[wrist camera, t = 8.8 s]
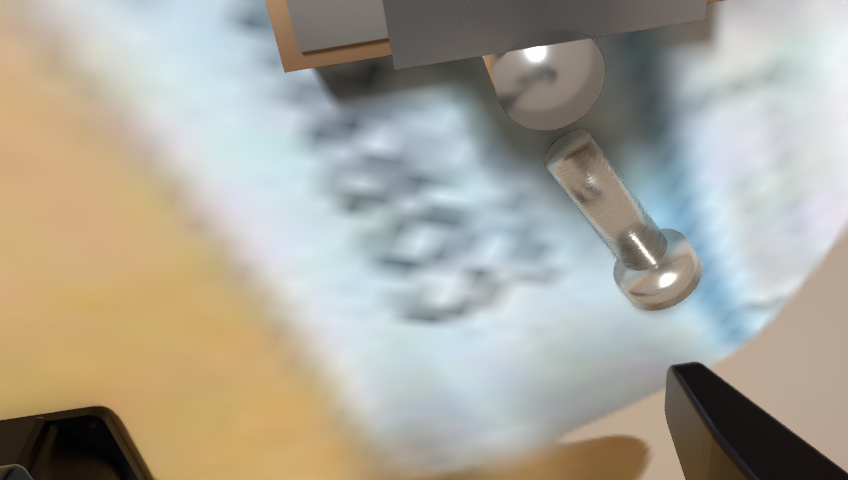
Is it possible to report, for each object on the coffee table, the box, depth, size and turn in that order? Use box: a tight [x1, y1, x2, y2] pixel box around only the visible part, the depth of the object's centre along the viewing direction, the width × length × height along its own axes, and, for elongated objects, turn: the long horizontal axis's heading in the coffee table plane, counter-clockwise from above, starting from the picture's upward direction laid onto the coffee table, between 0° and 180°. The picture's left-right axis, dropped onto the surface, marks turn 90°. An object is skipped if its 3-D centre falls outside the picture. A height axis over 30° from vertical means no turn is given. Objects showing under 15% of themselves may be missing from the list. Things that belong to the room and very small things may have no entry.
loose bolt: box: [544, 130, 703, 310], centre depth 22 cm, size 6×3×3 cm, turn 38°
